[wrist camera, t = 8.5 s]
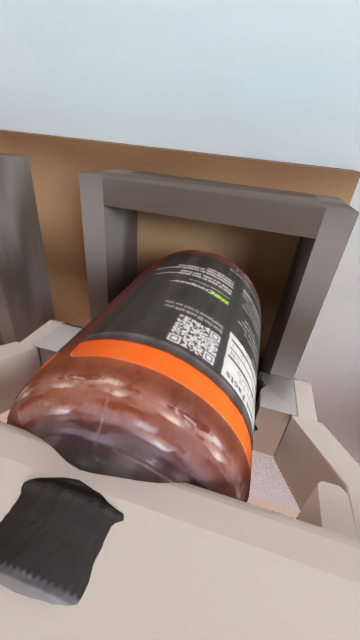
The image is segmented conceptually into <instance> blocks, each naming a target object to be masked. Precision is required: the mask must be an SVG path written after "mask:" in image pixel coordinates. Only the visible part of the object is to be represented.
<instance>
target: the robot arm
mask: <svg viewBox="0 0 360 640" xmlns="http://www.w3.org/2000/svg"><path fill="white" fill-rule="evenodd" d="M82 329H83V327H80V326H76V325H72V324H69V323H64V322H61V321H57V320H49V321H48V322H47V323H45V324H44V325H43V326H41V327H40V328H39V329H37V330H36V331H35V332H33V333H32V334H31V335H29V336H28V337H27V338H25V339H24V340H23V341H21V342H20V343H19V342H13V343H9V344H5V345H2V346H0V414H1V413H3V412H5V411H7V410H9V409H11V407H12V404H13V402H14V400H15V398H16V397H17V395H18V393H19V392H20V391H21V389H22V388H23V387H24V386H25V384H26V383H27V382H28V381H29V380H30V378H31V377H32V376H33V375H34V374H35V373H36V372H37V371H38V370H39V369H40V368H41V367H42V366H43V365H44V364H45V363H46V362H48V361H49V360H50V359H51V358H52V357H53V356H54V355H55V354H56V353H57V352H58V351H59V349H60V348H62V347H63V346H64V345H65V344H66V343H67V342H69V341H70V340H71V339H72V338H73V337H74V336H75V335H76V334H77V333H78V332H79V331H80V330H82ZM252 450H255V451H258V452H262V453H265V454H268V455H271V456H274V459H275V461H276V463H277V465H278V467H279V469H280V471H281V473H282V475H283V477H284V479H285V481H286V483H287V485H288V487H289V489H290V491H291V493H292V495H293V496H294V498H295V500H296V502H297V504H298V506H299V508H300V510H301V512H300V513H299V515H298V517H297V518H296V519H295V518H292V517H289V516H286V515H283V514H280V513H277V512H274V511H271V510H268V509H265V508H262V507H259V506H256V505H253V504H250V503H247V502H244V501H241V500H238V499H235V498H232V497H228V496H225V495H222V494H219V493H216V492H213V491H210V490H207V489H204V488H201V487H198V486H195V485H192V484H189V483H183V482H182V483H152V482H143V481H136V480H131V479H125V478H119V477H112V476H106V475H99V474H94V473H89V472H86V471H82V470H79V469H78V468H76V467H74V466H72V465H71V464H69V463H67V461H66V460H64V459H63V458H62V457H61V456H60V455H59V454H58V453H57V452H56V451H55V450H54V448H52V447H51V446H50V445H49V444H47V443H46V442H45V441H43V440H42V439H41V438H39V437H37V436H35V435H33V434H32V433H30V432H29V431H27V430H25V429H22V428H19V427H16V426H13V425H10V424H7V423H4V422H1V421H0V522H1V521H2V520H3V518H4V517H5V515H6V514H7V513H8V512H9V511H10V509H11V507H12V506H13V505H14V504H15V503H16V501H17V500H18V498H19V496H20V494H21V487H22V485H23V483H24V482H25V481H28V480H30V479H34V478H41V477H42V478H48V477H65V478H71V479H78V480H80V481H82V482H83V483H85V484H86V485H88V486H89V487H91V488H92V489H93V490H95V491H97V492H99V493H100V494H101V495H102V496H104V498H105V499H106V500H107V501H108V503H109V504H111V505H112V506H113V507H114V508H116V509H117V510H118V511H120V512H122V513H123V514H124V520H123V521H121V522H117V523H115V524H114V525H113V526H111V528H110V530H109V532H108V535H107V537H106V539H105V541H104V543H103V547H102V549H101V551H100V552H99V554H98V556H97V558H96V560H95V562H94V565H93V568H92V572H91V576H90V580H89V583H88V585H87V588H86V590H85V592H84V594H83V596H82V598H81V600H80V601H79V603H78V604H76V605H71V606H64V605H53V604H51V603H48V602H45V601H41V600H38V599H32V598H29V597H27V596H24V595H21V594H18V593H15V592H13V591H11V590H10V589H8V588H6V587H4V586H2V585H1V584H0V640H360V466H359V464H358V463H357V462H356V461H355V460H354V459H353V458H352V457H351V455H350V454H349V453H348V452H347V451H346V450H345V449H344V447H343V446H342V445H341V444H340V443H339V442H338V441H337V439H336V438H335V437H334V436H333V435H332V434H331V433H330V431H329V430H328V429H327V428H326V427H325V426H324V425H323V424H322V423H318V422H317V416H316V410H315V405H314V399H313V393H312V387H311V384H310V383H309V382H306V381H302V380H297V379H291V378H286V377H282V376H278V375H274V374H270V373H266V372H260V374H259V377H258V380H257V391H256V405H255V422H254V439H253V449H252Z"/></svg>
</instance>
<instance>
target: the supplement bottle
mask: <svg viewBox="0 0 360 640" xmlns="http://www.w3.org/2000/svg"><path fill="white" fill-rule="evenodd" d="M260 332H261V307H260V301H259V297H258V294H257V292H256V289H255V287H254V286H253V283H252V282H251V280H250V279H249V277H248V276H247V275H246V274H245V273H244V272H243V271H242V270H241V269H240V268H239V267H237V266H236V265H235V264H234V263H232V262H231V261H230V260H227V259H226V258H224V257H222V256H219V255H217V254H214V253H211V252H207V251H201V250H185V251H179V252H175V253H172V254H169V255H167V256H165V257H163V258H161V259H159V260H158V261H156V262H155V263H154V264H152V265H151V266H150V267H148V268H147V269H146V270H145V271H144V272H143V273H142V274H141V275H139V276H138V277H137V278H136V279H135V280H134V281H133V282H132V283H131V284H130V285H129V286H128V287H127V288H126V289H125V290H123V291H122V292H121V293H120V294H119V295H118V296H117V297H116V298H115V299H114V300H113V301H112V302H111V303H110V304H108V305H107V306H106V307H105V308H104V309H103V310H102V311H101V312H100V313H99V314H98V315H97V316H96V317H94V318H93V319H92V320H91V321H90V322H89V323H88V324H87V325H86V326H85V327H84V328H83V329H82V330H80V331H79V332H78V333H77V334H76V335H75V336H74V337H73V338H72V339H71V340H70V341H69V342H67V343H66V344H65V345H64V346H63V347H62V348H60V349H59V351H58V352H57V353H56V354H55V355H54V356H53V357H52V358H51V359H50V360H49V361H48V362H46V363H45V364H44V365H43V366H42V367H41V368H40V369H39V370H38V371H37V372H36V373H35V374H34V375H33V376H32V377H31V378H30V380H29V381H28V382H27V383H26V384H25V386H24V387H23V388H22V389H21V391H20V392H19V393H18V395H17V397H16V398H15V400H14V402H13V404H12V407H11V409H10V412H9V415H8V421H7V424H10V425H13V426H16V427H19V428H22V429H25V430H27V431H29V432H30V433H32V434H33V435H35V436H37V437H39V438H41V439H42V440H43V441H45V442H46V443H47V444H49V445H50V446H51V447H52V448H54V450H55V451H56V452H57V453H58V454H59V455H60V456H61V457H62V458H63V459H64V460H66V461H67V463H69V464H71V465H72V466H74V467H76V468H78V469H79V470H82V471H86V472H89V473H94V474H99V475H106V476H112V477H119V478H125V479H131V480H136V481H143V482H152V483H182V482H183V483H189V484H192V485H195V486H198V487H201V488H204V489H207V490H210V491H213V492H216V493H219V494H222V495H225V496H228V497H232V498H235V499H238V500H241V501H244V502H247V500H248V497H249V490H250V480H251V465H252V449H253V439H254V422H255V405H256V391H257V376H258V363H259V348H260ZM123 520H124V514H123V513H122V512H120V511H118V510H117V509H116V508H114V507H113V506H112V505H111V504H109V503H108V501H107V500H106V499H105V498H104V496H102V495H101V494H100V493H99V492H97V491H95V490H93V489H92V488H91V487H89V486H88V485H86V484H85V483H83V482H82V481H80V480H78V479H71V478H65V477H48V478H42V477H41V478H34V479H30V480H28V481H25V482H24V483H23V485H22V487H21V494H20V496H19V498H18V500H17V501H16V503H15V504H14V505H13V506H12V507H11V509H10V511H9V512H8V513H7V514H6V515H5V517H4V518H3V520H2V521H1V522H0V584H1V585H2V586H4V587H6V588H8V589H10V590H11V591H13V592H15V593H18V594H21V595H24V596H27V597H29V598H32V599H38V600H41V601H45V602H48V603H51V604H53V605H64V606H71V605H76V604H78V603H79V601H80V600H81V598H82V596H83V594H84V592H85V590H86V588H87V585H88V583H89V580H90V576H91V572H92V568H93V565H94V562H95V560H96V558H97V556H98V554H99V552H100V551H101V549H102V547H103V543H104V541H105V539H106V537H107V535H108V532H109V530H110V528H111V526H113V525H114V524H115V523H117V522H121V521H123Z"/></svg>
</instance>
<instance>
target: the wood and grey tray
mask: <svg viewBox="0 0 360 640" xmlns="http://www.w3.org/2000/svg"><path fill="white" fill-rule="evenodd" d="M359 178H360V172H358V171H354V170H348V169H339V168H331V167H322V166H313V165H304V164H296V163H287V162H278V161H270V160H261V159H252V158H244V157H235V156H226V155H217V154H209V153H200V152H191V151H183V150H174V149H165V148H156V147H148V146H139V145H130V144H122V143H113V142H104V141H96V140H87V139H78V138H69V137H61V136H52V135H43V134H35V133H26V132H17V131H8V130H0V345H1V346H2V345H5V344H9V343H13V342H19V343H20V342H21V341H23V340H24V339H25V338H27V337H28V336H29V335H31V334H32V333H33V332H35V331H36V330H37V329H39V328H40V327H41V326H43V325H44V324H45V323H47V322H48V321H49V320H57V321H61V322H64V323H69V324H72V325H76V326H80V327H83V328H84V327H85V326H86V325H87V324H88V323H89V322H90V321H91V320H92V319H93V318H94V317H96V316H97V315H98V314H99V313H100V312H101V311H102V310H103V309H104V308H105V307H106V306H107V305H108V304H110V303H111V302H112V301H113V300H114V299H115V298H116V297H117V296H118V295H119V294H120V293H121V292H122V291H123V290H125V289H126V288H127V287H128V286H129V285H130V284H131V283H132V282H133V281H134V280H135V279H136V278H137V277H138V276H139V275H141V274H142V273H143V272H144V271H145V270H146V269H147V268H148V267H150V266H151V265H152V264H154V263H155V262H156V261H158V260H159V259H161V258H163V257H165V256H167V255H169V254H172V253H175V252H179V251H185V250H201V251H207V252H211V253H214V254H217V255H219V256H222V257H224V258H226V259H227V260H230V261H231V262H232V263H234V264H235V265H236V266H237V267H239V268H240V269H241V270H242V271H243V272H244V273H245V274H246V275H247V276H248V277H249V279H250V280H251V282H252V283H253V286H254V287H255V289H256V292H257V294H258V297H259V301H260V307H261V332H260V348H259V363H258V376H257V380H258V377H259V374H260V372H266V373H270V374H274V375H278V376H282V377H286V378H291V379H293V377H294V374H295V372H296V370H297V367H298V365H299V362H300V360H301V357H302V355H303V352H304V350H305V347H306V345H307V342H308V340H309V337H310V335H311V332H312V330H313V327H314V325H315V322H316V320H317V317H318V315H319V312H320V310H321V307H322V305H323V302H324V300H325V297H326V295H327V292H328V290H329V287H330V285H331V282H332V280H333V277H334V275H335V272H336V270H337V267H338V265H339V262H340V260H341V257H342V255H343V252H344V250H345V247H346V245H347V242H348V240H349V237H350V235H351V232H352V230H353V227H354V225H355V222H356V220H357V217H358V215H359V212H357V211H356V210H355V209H353V208H352V207H351V206H349V204H350V201H351V199H352V196H353V193H354V191H355V188H356V186H357V183H358V180H359Z"/></svg>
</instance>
